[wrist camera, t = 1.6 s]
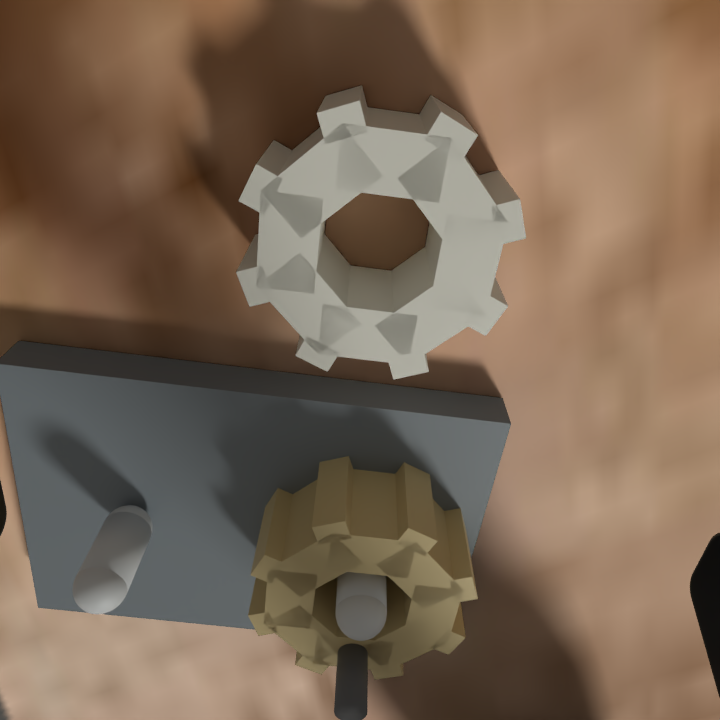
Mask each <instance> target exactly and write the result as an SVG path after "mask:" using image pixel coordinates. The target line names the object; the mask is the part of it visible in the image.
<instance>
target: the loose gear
mask: <svg viewBox="0 0 720 720" xmlns="http://www.w3.org/2000/svg"><path fill="white" fill-rule="evenodd" d="M317 116H318V120H319V123H320V128H318V129H317V130H316V131H315V132H314V133H312V134H311V135H310V136H309V137H308V138H306V139H305V140H304V141H303V142H302V143H300V144H299V145H298V146H297V147H296V148H294V149H293V150H291V149H289V148H287V147H285V146H284V145H282V144H280V143H278V142H277V141H275V140H273V142H272V143H271V144H270V146H269V147H268V148H267V150H266V151H265V153H264V154H263V155H262V157H261V158H260V159H259V161H258V162H257V163H256V165H255V167H254V169H253V172H252V174H251V176H250V178H249V180H248V182H247V184H246V186H245V188H244V190H243V192H242V194H241V197H240V199H239V202H241V203H243V204H245V205H247V206H249V207H250V208H252V209H254V210H256V211H258V212H260V213H259V233H258V234H256V235H255V236H254V238H253V240H252V242H251V244H250V246H249V248H248V250H247V252H246V254H245V256H244V258H243V260H242V261H241V263H240V265H239V267H238V269H237V271H236V273H237V276H238V278H239V281H240V284H241V286H242V289H243V291H244V294H245V296H246V299H247V301H248V304H249V307H251V306H255V305H259V304H263V303H267V302H270V303H271V304H272V305H273V306H274V307H275V308H276V309H277V310H278V311H279V312H280V314H281V315H282V316H283V317H284V318H285V319H286V320H287V321H288V322H289V323H290V324H291V326H292V327H293V328H294V329H295V330H296V331H297V332H298V333H299V334H300V337H299V341H298V346H297V350H296V355H295V356H297V357H299V358H301V359H303V360H305V361H307V362H309V363H311V364H313V365H315V366H317V367H319V368H321V369H323V370H325V371H327V372H328V371H329V369H330V367H331V366H332V364H333V363H334V361H335V359H336V358H337V357H346V358H354V359H362V360H371V361H379V362H387V363H389V366H390V370H391V373H392V376H393V380H394V379H399V378H403V377H408V376H412V375H417V374H421V373H426V372H429V369H428V363H427V356H426V353H428V352H429V351H431V350H432V349H434V348H435V347H437V346H438V345H440V344H442V343H443V342H445V341H446V340H448V339H449V338H451V337H452V336H454V335H455V334H457V333H459V332H460V331H462V330H463V329H465V328H466V327H470V328H472V329H474V330H476V331H478V332H479V333H481V334H483V335H485V336H486V335H487V334H488V332H489V331H490V330H491V328H492V327H493V326H494V324H495V323H496V322H497V320H498V319H499V318H500V316H501V315H502V314H503V312H504V311H505V310H506V308H507V307H508V305H507V302H506V300H505V298H504V296H503V293H502V291H501V289H500V286H499V284H498V282H497V280H496V277H495V275H496V271H497V267H498V263H499V259H500V255H501V251H502V247H503V244H505V243H509V242H513V241H517V240H521V239H525V238H526V235H525V228H524V222H523V215H522V209H521V202H520V198H519V197H518V196H517V194H516V193H515V192H514V190H513V189H512V188H511V186H510V185H509V183H508V182H507V181H506V179H505V178H504V177H503V175H502V174H501V173H500V171H499V170H497V171H493V172H489V173H486V174H482V175H478V174H477V172H476V171H475V169H474V168H473V166H472V165H471V163H470V162H469V160H468V159H467V157H466V156H465V155H466V153H467V152H468V150H469V149H470V147H471V146H472V144H473V142H474V141H475V139H476V138H477V136H478V134H477V133H476V132H475V131H474V129H473V128H472V127H471V125H470V124H469V123H468V122H467V120H466V119H465V118H464V116H463V115H462V114H460V113H459V112H457V111H455V110H454V109H452V108H451V107H449V106H448V105H446V104H444V103H443V102H441V101H440V100H438V99H437V98H435V97H433V96H432V95H430V97H429V99H428V100H427V102H426V104H425V106H424V107H423V109H422V111H421V112H420V114H413V113H406V112H399V111H391V110H384V109H377V108H370V107H367V103H366V100H365V96H364V92H363V88H362V85H361V86H358V87H354V88H351V89H347V90H344V91H341V92H337V93H334V94H330V95H327V96H325V98H324V100H323V102H322V104H321V105H320V107H319V109H318V111H317ZM360 193H368V194H376V195H383V196H391V197H399V198H406V199H413V200H414V201H415V203H416V204H417V206H418V207H419V208H420V210H421V211H422V212H423V214H424V215H425V216H426V218H427V219H428V220H429V222H430V223H429V228H428V234H427V239H426V245H425V247H424V248H423V249H421V250H420V251H418V252H417V253H416V254H414V255H413V256H411V257H410V258H408V259H407V260H406V261H404V262H403V263H401V264H400V265H399V266H397V267H396V268H394V269H393V270H392V271H390V270H382V269H374V268H367V267H359V266H351V265H350V264H349V263H348V262H347V261H346V259H345V258H344V257H343V256H342V255H341V253H340V252H339V251H338V250H337V248H336V247H335V246H334V245H333V244H332V242H331V241H330V240H329V239H328V238H327V236H326V235H325V234H324V232H325V223H326V219H328V218H329V217H330V216H331V215H333V214H334V213H335V212H337V211H338V210H339V209H341V208H342V207H343V206H344V205H346V204H347V203H348V202H350V201H351V200H352V199H354V198H355V197H356V196H357V195H359V194H360Z"/></svg>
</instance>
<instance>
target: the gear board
mask: <svg viewBox="0 0 720 720" xmlns="http://www.w3.org/2000/svg"><path fill="white" fill-rule="evenodd" d="M0 396H1V402H2V407H3V413H4V419H5V424H6V430H7V435H8V441H9V447H10V452H11V458H12V464H13V469H14V475H15V480H16V486H17V492H18V497H19V503H20V508H21V514H22V520H23V525H24V531H25V536H26V542H27V548H28V553H29V559H30V564H31V570H32V576H33V581H34V587H35V592H36V598H37V604H38V608H47V609H57V610H67V611H77V612H87V613H91V614H107V615H117V616H127V617H137V618H146V619H156V620H166V621H176V622H186V623H196V624H206V625H216V626H226V627H236V628H246V629H255V630H256V632H257V634H258V636H260V635H266V634H272V633H275V634H277V635H278V636H279V637H280V638H282V639H283V640H284V641H285V642H287V643H288V644H289V645H290V646H292V647H293V648H294V649H295V650H296V651H297V654H296V662H295V665H297V666H300V667H302V668H305V669H308V670H310V671H313V672H316V673H319V674H321V675H322V673H323V672H324V671H325V670H326V669H327V668H328V667H329V666H337V672H336V690H335V707H334V713H335V715H336V717H337V718H339V719H341V720H362V719H363V718H365V717H366V715H367V684H368V669H369V670H371V672H372V674H373V676H374V679H375V680H377V679H384V678H390V677H397V676H403V663H405V662H408V661H410V660H412V659H414V658H416V657H418V656H420V655H423V654H425V653H427V652H429V651H431V650H433V649H435V650H438V651H440V652H443V653H445V654H448V655H449V654H450V653H451V652H452V651H453V650H454V649H455V648H456V647H457V646H458V645H459V644H460V643H461V642H462V641H463V640H464V639H465V638H466V636H465V629H464V622H463V615H462V608H461V602H463V601H469V600H475V599H478V596H477V590H476V585H475V579H474V573H473V567H472V562H471V557H472V554H473V551H474V547H475V544H476V541H477V537H478V534H479V530H480V527H481V524H482V520H483V517H484V513H485V510H486V507H487V503H488V500H489V496H490V493H491V490H492V486H493V483H494V480H495V476H496V473H497V469H498V466H499V463H500V459H501V456H502V452H503V449H504V446H505V442H506V439H507V436H508V432H509V429H510V425H511V422H510V419H509V416H508V413H507V410H506V407H505V404H504V401H503V398H498V397H489V396H481V395H472V394H464V393H455V392H447V391H439V390H430V389H422V388H413V387H405V386H396V385H388V384H380V383H371V382H363V381H354V380H346V379H337V378H329V377H321V376H312V375H304V374H295V373H287V372H278V371H270V370H262V369H253V368H245V367H236V366H228V365H219V364H211V363H203V362H194V361H186V360H177V359H169V358H160V357H152V356H144V355H135V354H127V353H118V352H110V351H101V350H93V349H85V348H76V347H68V346H59V345H51V344H42V343H34V342H26V341H18V342H17V343H16V344H15V345H14V346H13V347H11V348H10V349H9V350H8V351H7V352H6V353H5V354H4V355H3V356H2V357H1V358H0Z"/></svg>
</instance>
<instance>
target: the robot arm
mask: <svg viewBox="0 0 720 720" xmlns="http://www.w3.org/2000/svg"><path fill="white" fill-rule="evenodd" d="M5 522H6V505H5V500H4V496H3V491H2V486H1V481H0V536H1V533H2V531H3V529H4V525H5ZM690 593H691V598H692V602H693V605H694V609H695V612H696V616H697V619H698V623H699V626H700V630H701V634H702V637H703V641H704V644H705V648H706V651H707V655H708V658H709V662H710V665H711V669H712V673H713V676H714V680H715V683H716V687H717V690H718V694H719V697H720V533H717V534H716V535H714V536H713V537H712V538H711V540H710V542H709V544H708V545H707V547H706V549H705V551H704V553H703V555H702V557H701V559H700V561H699V562H698V564H697V566H696V568H695V570H694V572H693V574H692V577H691V581H690Z"/></svg>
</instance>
